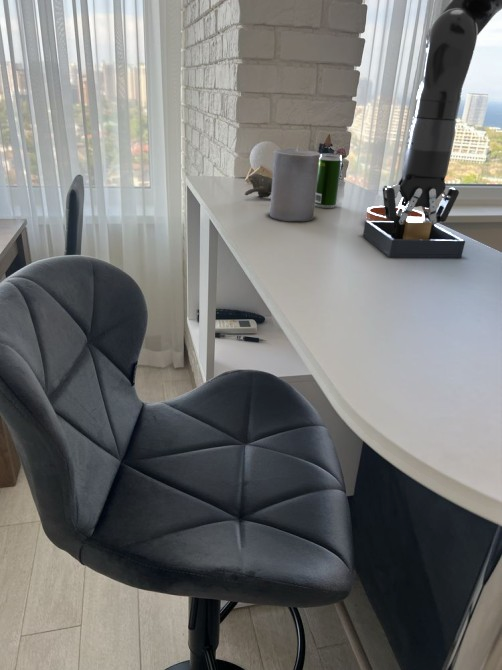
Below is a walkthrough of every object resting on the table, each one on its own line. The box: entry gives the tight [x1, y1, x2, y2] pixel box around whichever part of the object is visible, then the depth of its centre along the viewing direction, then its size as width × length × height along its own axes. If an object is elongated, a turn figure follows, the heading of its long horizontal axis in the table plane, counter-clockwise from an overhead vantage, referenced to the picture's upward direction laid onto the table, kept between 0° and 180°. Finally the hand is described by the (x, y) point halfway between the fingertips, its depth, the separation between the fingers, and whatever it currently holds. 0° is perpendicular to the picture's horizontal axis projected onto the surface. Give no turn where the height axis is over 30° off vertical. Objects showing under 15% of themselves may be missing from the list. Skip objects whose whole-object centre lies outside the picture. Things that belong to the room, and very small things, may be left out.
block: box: [403, 217, 432, 239], centre depth 94 cm, size 4×4×4 cm
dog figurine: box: [244, 173, 272, 198], centre depth 127 cm, size 12×6×7 cm, turn 91°
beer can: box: [315, 152, 343, 209], centre depth 121 cm, size 5×5×12 cm
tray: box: [362, 220, 466, 259], centre depth 94 cm, size 14×14×3 cm
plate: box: [364, 205, 424, 222], centre depth 108 cm, size 12×12×3 cm
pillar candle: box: [269, 144, 321, 222], centre depth 108 cm, size 10×10×15 cm
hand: (410, 243), depth 95 cm, fingers closed on block, 4 cm apart
